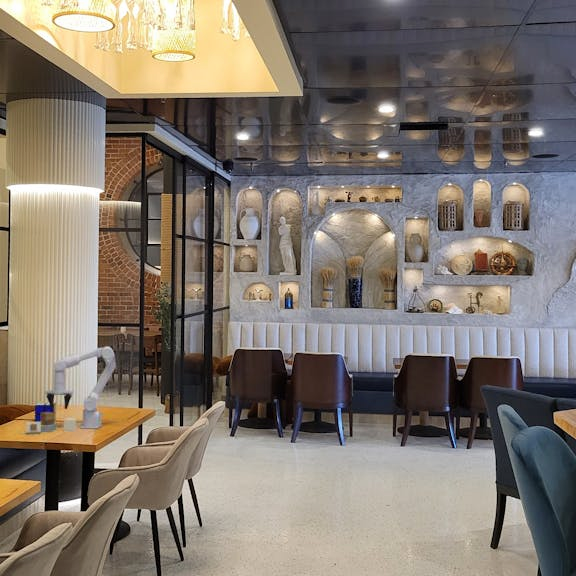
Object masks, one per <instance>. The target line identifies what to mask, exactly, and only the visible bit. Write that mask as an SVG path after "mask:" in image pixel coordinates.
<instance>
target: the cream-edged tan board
mask: <svg viewBox="0 0 576 576" xmlns="http://www.w3.org/2000/svg"><path fill="white" fill-rule="evenodd" d="M41 434H42V432H41V422H35V421H27V422H26V423H25V435H41Z"/></svg>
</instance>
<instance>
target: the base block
mask: <svg viewBox="0 0 576 576" xmlns="http://www.w3.org/2000/svg"><path fill="white" fill-rule="evenodd" d="M57 425H58V423H55V422H54V424H53V425H47V426H46V425H41V433H52V432H54V431H57V428H58V427H57Z"/></svg>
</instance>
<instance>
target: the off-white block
mask: <svg viewBox="0 0 576 576" xmlns="http://www.w3.org/2000/svg"><path fill="white" fill-rule="evenodd" d="M76 430H77V418H76V417H67V418H64V419H63V432H75V431H76Z"/></svg>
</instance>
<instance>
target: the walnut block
mask: <svg viewBox="0 0 576 576" xmlns="http://www.w3.org/2000/svg"><path fill="white" fill-rule="evenodd" d="M40 422H41V425H46V426H47V425H53V424H54V423H55V421H54V413H52V412H44V413H41V416H40Z"/></svg>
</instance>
